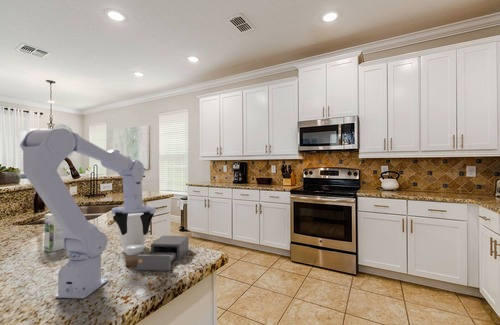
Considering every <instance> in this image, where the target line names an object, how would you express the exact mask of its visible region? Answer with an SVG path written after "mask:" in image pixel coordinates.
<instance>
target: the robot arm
mask: <svg viewBox="0 0 500 325" xmlns="http://www.w3.org/2000/svg"><path fill="white" fill-rule="evenodd" d="M19 147H20V148H21V150H22V152H23V154H22V164H23V165H22V166H23V168H22V169H23V173H24V175H25V177H26V178H27V180H28V182H29V183H30V184H31V185H32V187H33V189H34V190H35V192H36V193H37V194H38V196H39V197H40V199H41V200H42V202H43V203H44V204H45V206H46V208H47V209H48V211H49V213H52V215H53V216H54V218H55V219H56V221H57V222H58V223H59V225H60V226H61V228H62V229H63V231H62V233H61V234H60V236H61V237H62V239H63V247H64V249H63V250H64V251H66V252H68V257H69V258H68V261H67V262H66V263H65V264H64V265H62V267H61V268H60V269H59V271H58V275H57V276H58V277H57V281H58V283H57V287H58V288H57V294H55V295H54V298H56V299H57V298H59V299H61V298H63V299H85V298H87V297H88V296H89V295H91V294H92V293H93V292H95V291H96V290H97V289H99V288H100V287H102V286H103V285H104V284H105V283H107V282H108V281H109V278H102V254H103V253H104V251H105V250H106V248H107V246H108V236H107V234H105V233H104V232H102V231H101V230H100V229H99V228H98V226H96V225H94V224H93V223H91V222H90V221H88V220H87V218H86V217H85V215H84V213H83V211H82V209H81V208H80V207H79V205H78V203H77V202H76V200H75V198H74V197H73V195H72V193H71V192H70V190H69V189H68V186H67V185H66V183H65V182H64V181H63V178H62V177H61V175H60V174H59V172H58V169H59V167H60V165H61V164H62V162H64V161H65V159H67V157H68V156H70V154H71V153H72V152H75V153H77V154H81V155H84V156H86V157H88V158H90V159H91V158H92V159H94V160H96V161H97V160H98V161H99V162H100V165H101V166H102V167H104V168H106V169H108V170H111V171H114V172H116V173H118V175H119V176H120V177H122V190H123V191H122V192H123V206H116V207H113V208H111V215H113V216H112V219H113V220H114V221H115V223H116V225H118V229H119V228H120V231H121V234H122V235H124V234H126V233H127V217H128V213H144V214H143V215H141V216H140V218H141V221H142V226H143V235H146V236H147V234H148V233H149V229H150V226H151V221H152V220H153V217H154V215H155V213H156V211H157V210H156V209H157V208H156V206H149V205H147V206H146V205H143V203H144V202H143V186H142V182H143V180H144V178H143V176H144V175H145V172H146V167H145V166H144V163H142V162H141V161H140V160H137V159H136V160H134V159H132V158H131V156H127V155H123V154H122V153H120V150H118V149H109V150H105V149H104V148H102V147H100V146H98V145H96V144H94V143H92V142H91V141H89V140H87V139H85V138H83V137H82V136H80V134H78V133H77V132H74V131H71V130H69V129H66V128H63V127H57V128H51V129H34V130H31V131H29V132H27V133H26V134H25V135H24V137H23V139H22V141H21V142H20V144H19Z"/></svg>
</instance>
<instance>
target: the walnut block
mask: <svg viewBox="0 0 500 325" xmlns="http://www.w3.org/2000/svg"><path fill="white" fill-rule="evenodd" d="M140 254H144V251H143V252H142V253H140ZM137 255H139V254H136V255H127V254H126V253H125V267H137Z"/></svg>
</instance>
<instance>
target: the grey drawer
mask: <svg viewBox="0 0 500 325" xmlns="http://www.w3.org/2000/svg"><path fill="white" fill-rule="evenodd" d="M176 256H177V254H176V253H165V252H156V253H153V254H152V255H151V254H145V253H143V254H139V255H137V266H136V270H137V271H164V272H165V271H169V272H170V271H171V269H172V268H171V267H172V266H171V265H172V264H171V263H172V262H173V259H174V258H175V257H176Z"/></svg>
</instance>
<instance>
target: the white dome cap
mask: <svg viewBox="0 0 500 325" xmlns="http://www.w3.org/2000/svg"><path fill="white" fill-rule="evenodd" d="M144 246H145V245H143V244H134V245H130V246H127V247H126V253H125V255H126V254H127V255H136V254H140V253H142V252H143V253H144V252H145V248H144Z"/></svg>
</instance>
